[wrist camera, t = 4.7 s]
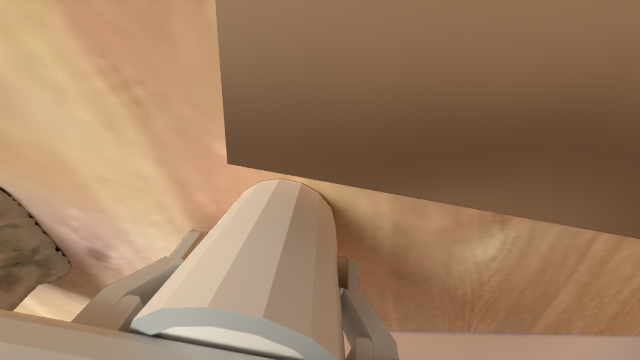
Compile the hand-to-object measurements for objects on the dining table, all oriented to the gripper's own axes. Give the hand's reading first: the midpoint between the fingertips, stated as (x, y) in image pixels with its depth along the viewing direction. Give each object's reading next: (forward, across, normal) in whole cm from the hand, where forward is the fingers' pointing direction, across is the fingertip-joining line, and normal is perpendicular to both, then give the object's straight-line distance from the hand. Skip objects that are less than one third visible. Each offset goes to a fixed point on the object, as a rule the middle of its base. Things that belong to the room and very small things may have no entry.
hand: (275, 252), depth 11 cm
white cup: (+2, 0, 0) cm, 2 cm away
